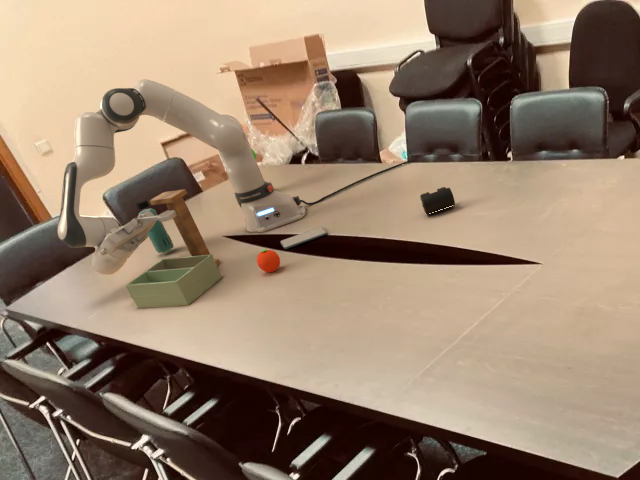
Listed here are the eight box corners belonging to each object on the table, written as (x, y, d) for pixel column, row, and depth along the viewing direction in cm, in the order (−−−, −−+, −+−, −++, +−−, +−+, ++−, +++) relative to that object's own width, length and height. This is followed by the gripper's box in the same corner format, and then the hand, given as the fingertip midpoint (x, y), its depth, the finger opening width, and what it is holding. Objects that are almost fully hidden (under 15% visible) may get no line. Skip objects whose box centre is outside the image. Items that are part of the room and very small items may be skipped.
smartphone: (327, 232, 239) (283, 247, 235) (328, 235, 240) (285, 250, 236) (321, 226, 246) (279, 241, 242) (322, 228, 246) (280, 243, 243)
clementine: (260, 270, 226) (251, 249, 222) (281, 262, 228) (273, 242, 224) (263, 278, 220) (253, 257, 216) (285, 270, 221) (276, 249, 217)
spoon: (129, 225, 218) (127, 221, 217) (141, 218, 222) (138, 214, 221) (169, 221, 212) (167, 216, 211) (180, 213, 216) (178, 209, 215)
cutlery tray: (138, 308, 223) (125, 285, 218) (174, 280, 236) (162, 258, 232) (188, 305, 215) (176, 281, 211) (222, 276, 229) (211, 254, 225)
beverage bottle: (170, 255, 259) (143, 203, 248) (155, 257, 261) (127, 206, 250) (179, 247, 264) (153, 196, 254) (165, 250, 266) (138, 199, 255)
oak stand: (186, 274, 238) (149, 200, 224) (199, 264, 244) (163, 192, 230) (208, 272, 235) (171, 197, 221) (220, 262, 241) (185, 189, 227)
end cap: (428, 219, 231) (422, 199, 227) (423, 213, 237) (417, 193, 233) (457, 209, 232) (451, 189, 229) (451, 203, 238) (446, 184, 234)
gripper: (89, 249, 217) (107, 224, 209) (135, 221, 233) (153, 197, 225) (106, 264, 219) (124, 241, 211) (150, 235, 235) (168, 212, 227)
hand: (139, 218), depth 218 cm, fingers closed on spoon, 1 cm apart
